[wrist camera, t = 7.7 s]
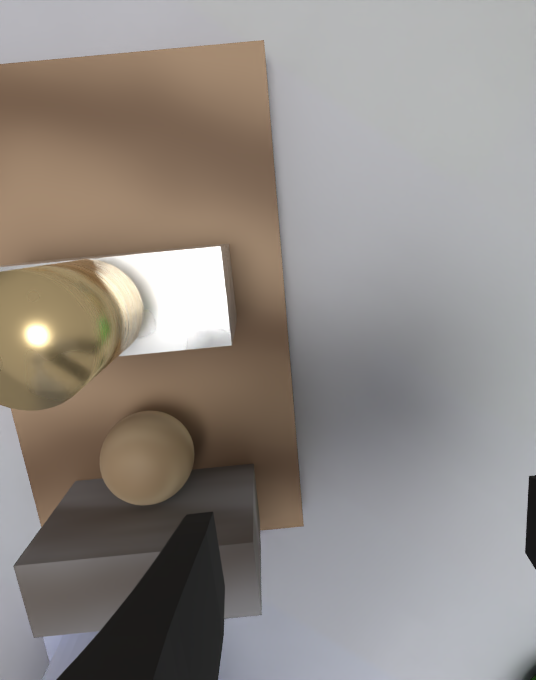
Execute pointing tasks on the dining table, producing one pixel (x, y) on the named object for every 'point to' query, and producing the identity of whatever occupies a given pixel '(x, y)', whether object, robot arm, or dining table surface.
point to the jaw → (106, 316)
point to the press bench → (164, 367)
